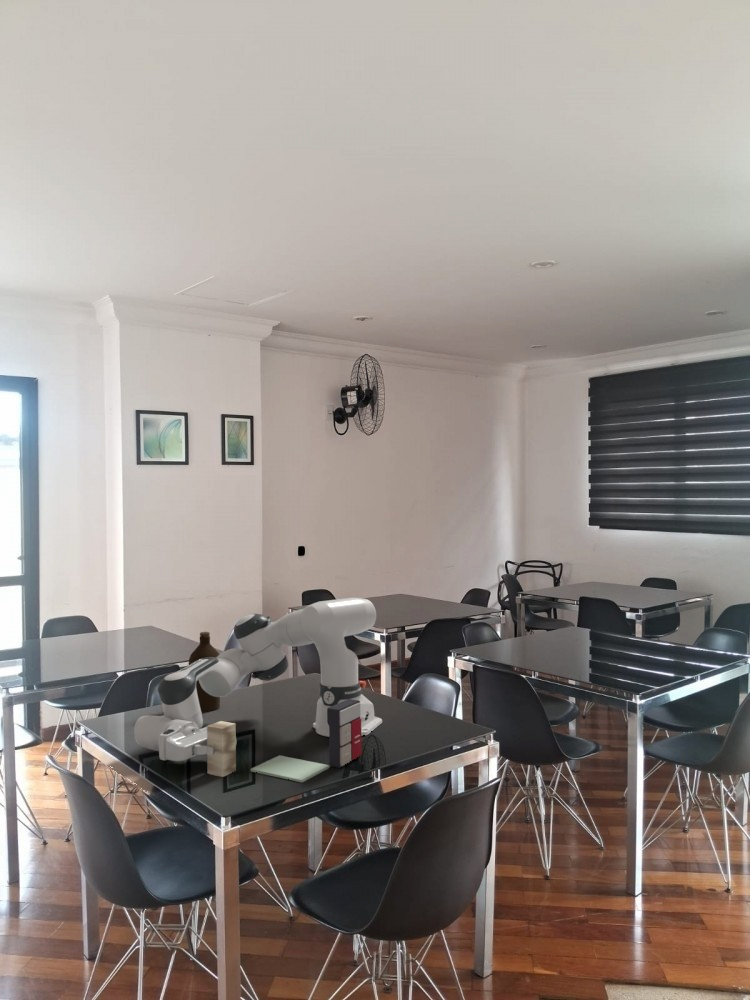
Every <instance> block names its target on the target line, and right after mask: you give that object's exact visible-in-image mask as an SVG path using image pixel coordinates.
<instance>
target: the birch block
mask: <svg viewBox="0 0 750 1000" xmlns="http://www.w3.org/2000/svg"><path fill="white" fill-rule="evenodd" d="M236 726H237V724H236V723H235V722H229V721H223V720H220V721H217V722H214V723H211V724H209V725H206V727H207V746H214V747H215V753H214V754H212V755H207V754H206V755H207V757H206V758H207V759H206V760H207V761H206V763H207V764H206V766H207V774H209V775H212V776H217V777H221V778H224V777H226V776H228V775H230V774H232V772H233V773H235V772H236V771H237V749H236V748H237V747H236V746H237V745H236V739H237V736H236V735H237V734H236V731H237V730H236V728H237V727H236ZM234 771H235V772H234Z"/></svg>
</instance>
